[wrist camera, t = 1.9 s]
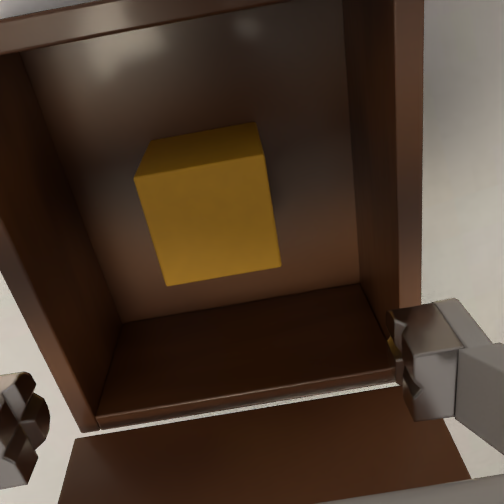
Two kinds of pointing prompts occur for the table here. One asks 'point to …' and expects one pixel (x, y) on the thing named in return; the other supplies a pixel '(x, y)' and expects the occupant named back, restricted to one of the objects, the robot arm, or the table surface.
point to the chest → (280, 182)
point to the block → (208, 204)
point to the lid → (268, 455)
